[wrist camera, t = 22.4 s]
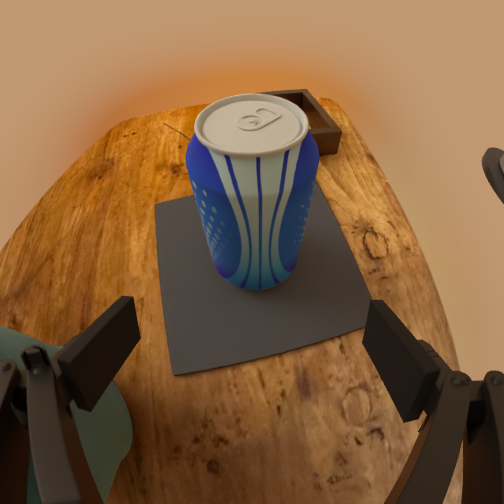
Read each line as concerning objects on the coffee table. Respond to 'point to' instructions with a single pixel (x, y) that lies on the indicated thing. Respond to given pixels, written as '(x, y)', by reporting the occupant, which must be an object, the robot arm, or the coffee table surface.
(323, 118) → the can holder
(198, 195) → the beer can
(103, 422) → the flower pot
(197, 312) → the rubber mat
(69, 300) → the coffee table surface
